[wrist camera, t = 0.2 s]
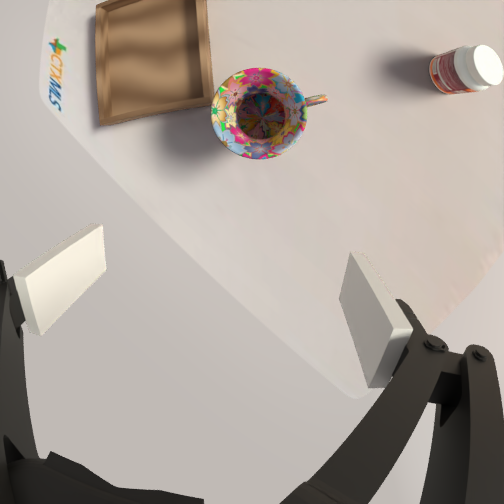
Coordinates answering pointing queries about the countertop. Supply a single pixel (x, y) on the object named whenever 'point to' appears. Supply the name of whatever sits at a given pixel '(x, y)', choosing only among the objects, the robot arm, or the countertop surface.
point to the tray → (151, 58)
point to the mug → (260, 113)
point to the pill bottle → (466, 69)
